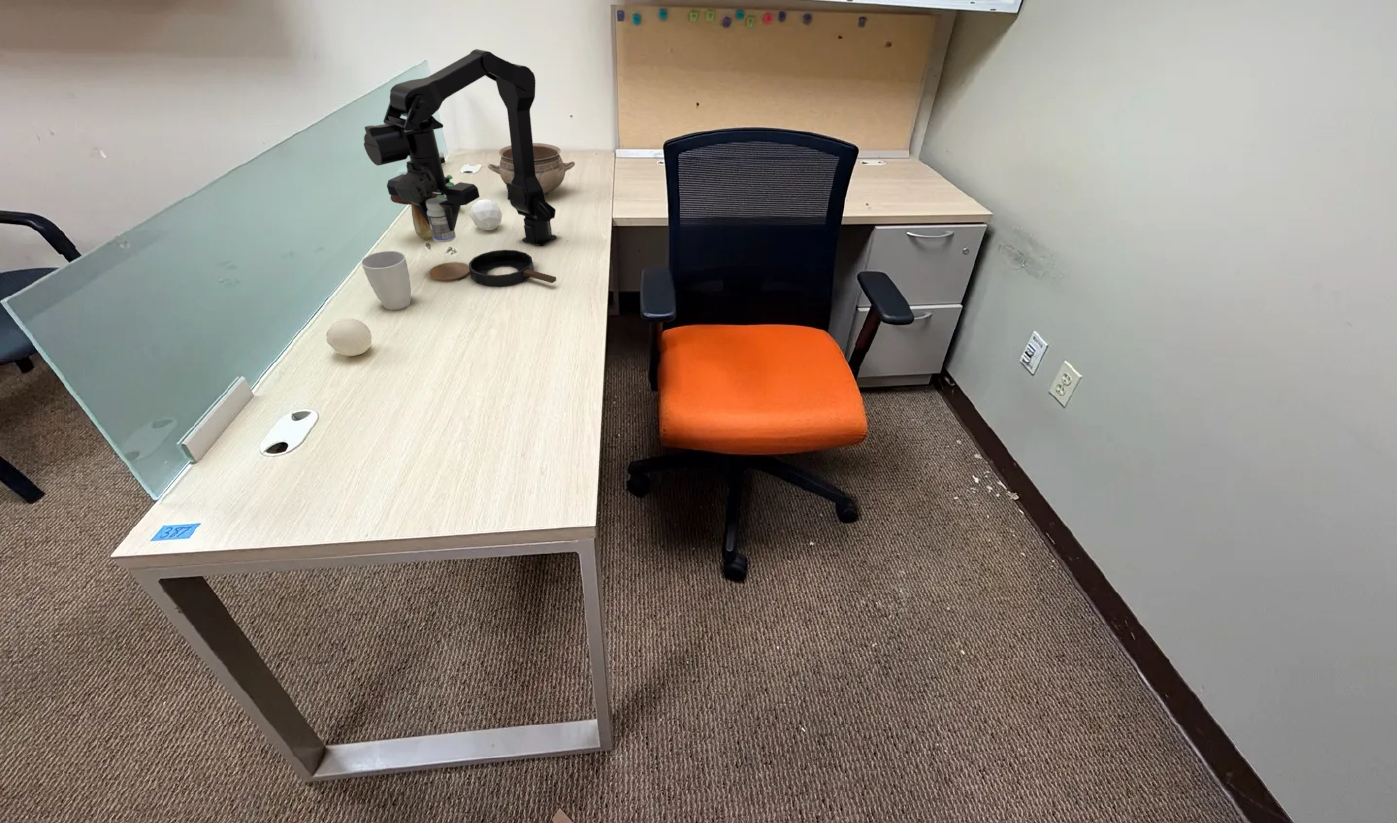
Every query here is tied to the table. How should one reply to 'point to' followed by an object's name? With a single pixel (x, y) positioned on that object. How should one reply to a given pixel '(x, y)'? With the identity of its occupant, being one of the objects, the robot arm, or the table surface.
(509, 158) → the cooking pot
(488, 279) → the pan
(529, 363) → the table surface
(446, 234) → the pill bottle
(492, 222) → the ball
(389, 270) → the cup
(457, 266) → the disc
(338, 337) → the cream oval shape
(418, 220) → the decorative mushroom
